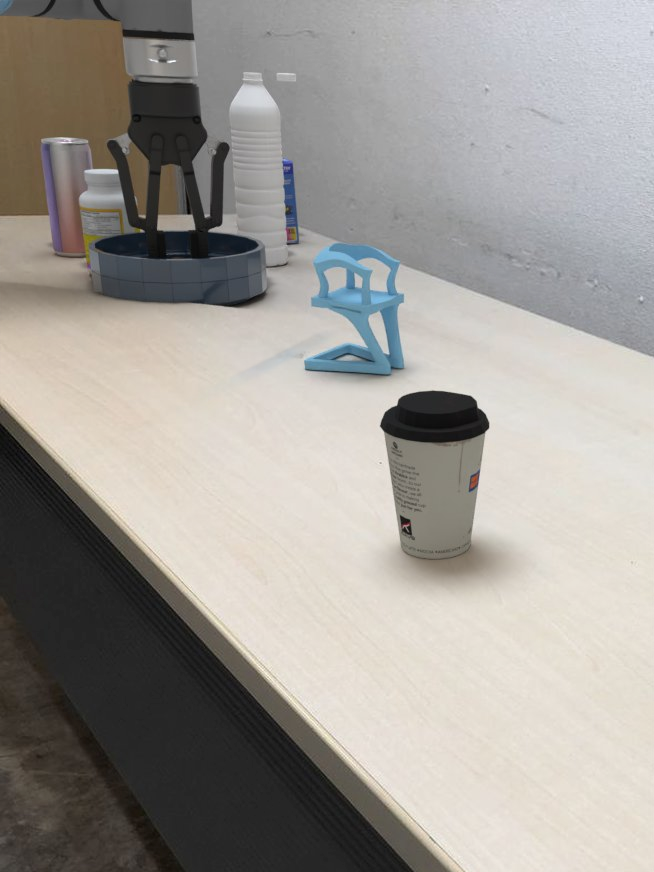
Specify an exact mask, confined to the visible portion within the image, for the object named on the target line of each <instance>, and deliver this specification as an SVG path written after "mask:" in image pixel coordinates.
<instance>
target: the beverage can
mask: <svg viewBox="0 0 654 872" xmlns="http://www.w3.org/2000/svg"><path fill="white" fill-rule="evenodd" d="M40 142H41V145H40V157H41V163H42V164H41V165H42V172H43V179H44V180H43V181H44V188H45V195H46V202H47V203H46V204H47V211H48V218H49V227H50V234H51V241H52V242H51V243H52V248H53V251H54V252H55V254H56V255H58V256H60V257H66V258H86V252H85V244H84V236H83V228H82V221H81V213H80V206H79V197H80V196H81V194H82V193H84V192H85V191H87V190H88V184H87V183H86V181H85V177H84V171H85V170H91V169H94V167H93V166H94V165H93V157H92V149H91V147H90V145H89V140H88V139H85V138H79V137H78V138H76V137H45V138H41V139H40Z"/></svg>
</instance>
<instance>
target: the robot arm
mask: <svg viewBox="0 0 654 872" xmlns="http://www.w3.org/2000/svg"><path fill="white" fill-rule="evenodd" d="M192 2H193V1H192V0H0V17H29V18H46V19H54V20H65V21H71V20H82V21H83V20H84V21H113V22H120V28H121V32H122V33H121V34H122V44H123V46H122V47H123V55H124V56H123V57H124V64H125V66H124V67H125V73H126V74H127V75H128V76H130V77H132V78H131V80H129V81H128V83H127V95H128V104H129V105H128V106H129V114H130V122H129V124H128V126H127V130H126V132H125V133H123V134H121V135H119V136H116V137H110V138H107V140H106V147H107V149H108V151H109V152H110V155H111V156H112V158H113V159H114V161H115V164H116V168H117V169H116V170H118V174H119V179H120V183H121V188H122V193H123V198H124V203H125V208H126V213H127V218H128V222H129V225H130V226H131V227H133V228H138V229H140V231H144V232H145V233H146V238H147V248H148V255H149V257H150V258H153V259H167V256H166V246H165V235H164V232H163V230H161V229H158V223H159V222H158V220H159V208H160V205H159V204H160V192H161V174H162V166H163V167H164V166H169V165H174V166H178V167H180V170H181V174H182V178H183V182H184V187H185V190H186V194H187V198H188V203H189V207H190V210H191V214H192V220H193V223H194V229H188V230H189V242H190V254H191V259H200V258H208V255H209V253H208V239H207V233H208V231H211V230H212V229H215V228H220V227H221V226H222V225H223V222H224V220H223V217H224V176H225V162H226V160H227V157H228V155H229V152H230V149H231V147H230V145H229V143H227V141H226V140H220V139H218V138H216V137H213V136H212V135H209V134H208V131H207V129H206V127H205V125H204V124H203V121H202V120H203V119H202V109H201V108H202V107H201V97H200V87H199V86H198V84H197V83H194V79H197V78H198V76H199V74H198V73H199V72H198V63H197V62H198V60H197V50H196V49H197V47H196V40H195V33H194V19H193V3H192ZM131 143H133V144H134V145H135V147H136V148H137V149H138V150H139V152H140V153H141V154H142V155H143V156H144V157H145V158H146V160H147V163H148V164H147V169H148V170H147V185H146V203H145V217H142V216H140V214H139V209H138V210H137V205H136V200H135V197H136V196H135V191H134V186H133V181H132V176H131V172H130V165H129V162H128V159H127V156H128V155H129V154H130V153H131V149H130V144H131ZM204 145H206V146H207V153H208V155H209V157H211V159H210V160H211V161H210V192H209V194H210V195H209V196H210V198H209V216H205V211H204V207H203V202H202V199H201V195H200V192H199V191H200V190H199V186H198V183H197V182H198V181H197V178H196V174H195V168H194V164H193V161H194V159H195V158H196V156H197V155H198V154H199V152H200V151H201V149H202V147H203V146H204ZM138 214H139V215H138Z"/></svg>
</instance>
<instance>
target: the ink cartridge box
mask: <svg viewBox="0 0 654 872" xmlns="http://www.w3.org/2000/svg"><path fill="white" fill-rule="evenodd" d="M282 158H283V161H282V163H283V167H282V169H283V175H284V185H283V188H284V192H285V200H284V203H285V216H286V228H285V229H286V232H287V243H286V245H287V244H298V243H299V242H300V232H299V231H300V230H299V219H298V208H297V194H296V183H295V170H294V162H293V160H291V159H287V158H284V157H282Z"/></svg>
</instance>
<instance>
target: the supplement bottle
mask: <svg viewBox="0 0 654 872" xmlns="http://www.w3.org/2000/svg"><path fill="white" fill-rule="evenodd" d="M84 177H85V181H86V183H87V184H88V190H87V191H85V192H84V193H82V194H81V196H80V197H79V206H80V213H81V221H82V228H83V236H84V244H85V252H86V257H85V259H86V267H87V271H88V274H89V275H91V276H92V274H91V265H90V257H89V247H88V244H89V243H90V242H92V241H94V240H96V239H98V238H102V237H106V236H110V235H115V234H123V233H130V232H141V229H138V228H133V227H131V226H130V225H129V222H128V218H127V213H126V208H125V203H124V198H123V193H122V188H121V183H120V179H119V174H118V169H115V168H113V169H112V168H93V169H91V170H85V171H84ZM135 200H136V205H137V210H138V211H139V206H138V199H137V197H136V196H135ZM138 215H139V216H140V214H139V213H138Z"/></svg>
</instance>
